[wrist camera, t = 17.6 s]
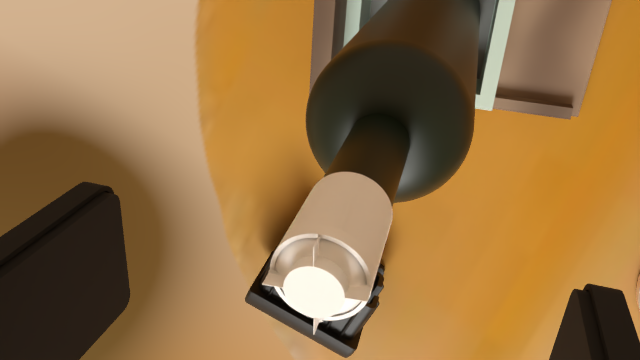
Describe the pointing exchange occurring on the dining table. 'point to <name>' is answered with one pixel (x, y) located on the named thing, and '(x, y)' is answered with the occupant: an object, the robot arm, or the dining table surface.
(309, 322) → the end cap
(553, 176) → the dining table surface
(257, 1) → the dining table surface
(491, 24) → the socket block
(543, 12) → the rail board
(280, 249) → the wine bottle
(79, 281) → the robot arm
